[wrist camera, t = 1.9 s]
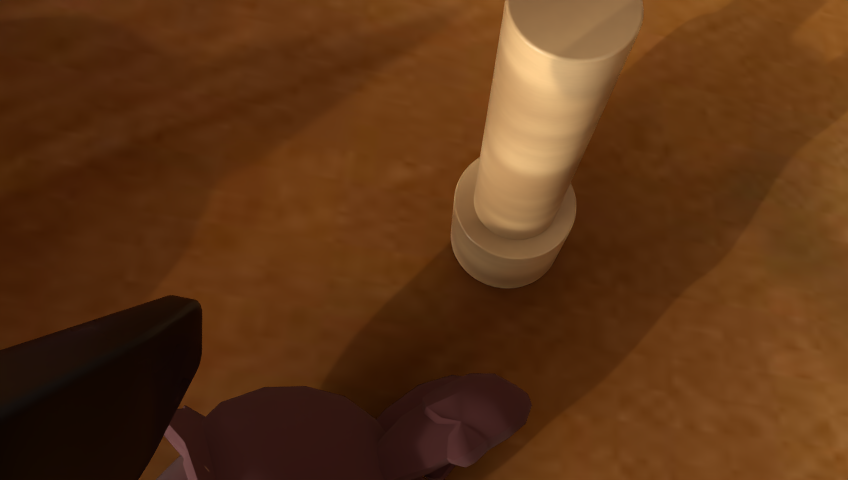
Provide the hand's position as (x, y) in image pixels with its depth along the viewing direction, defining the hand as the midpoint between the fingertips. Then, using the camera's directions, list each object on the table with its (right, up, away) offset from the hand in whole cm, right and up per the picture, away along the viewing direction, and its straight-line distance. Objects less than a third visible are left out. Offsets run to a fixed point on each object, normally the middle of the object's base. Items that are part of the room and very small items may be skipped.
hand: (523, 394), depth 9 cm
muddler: (+2, +2, +15) cm, 15 cm away
